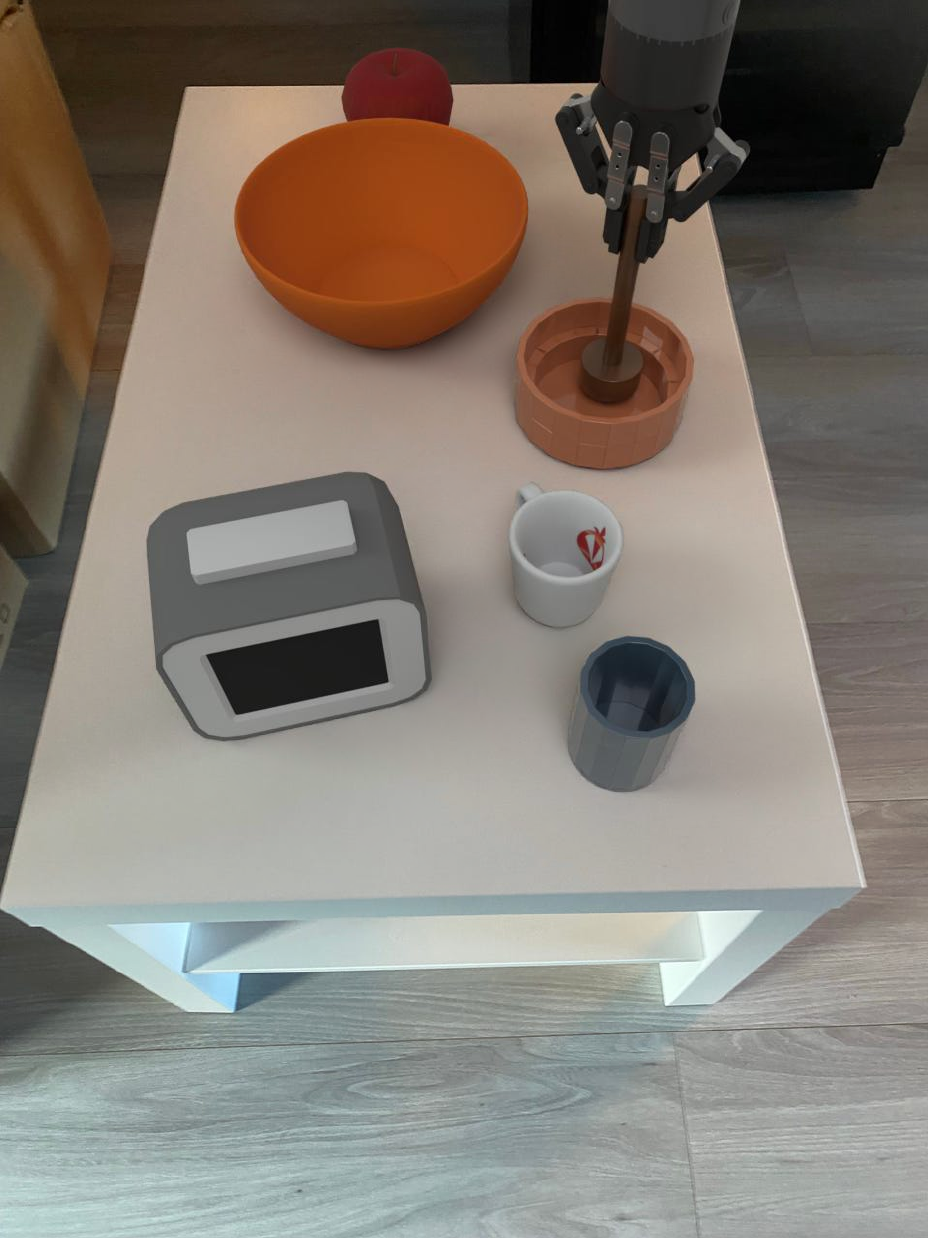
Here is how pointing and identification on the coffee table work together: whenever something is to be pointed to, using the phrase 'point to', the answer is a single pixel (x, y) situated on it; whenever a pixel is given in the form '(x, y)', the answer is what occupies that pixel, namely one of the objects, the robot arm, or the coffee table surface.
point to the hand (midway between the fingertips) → (630, 250)
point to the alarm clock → (286, 606)
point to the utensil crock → (629, 712)
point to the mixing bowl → (581, 422)
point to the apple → (398, 87)
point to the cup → (562, 553)
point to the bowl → (382, 228)
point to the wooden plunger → (618, 320)
